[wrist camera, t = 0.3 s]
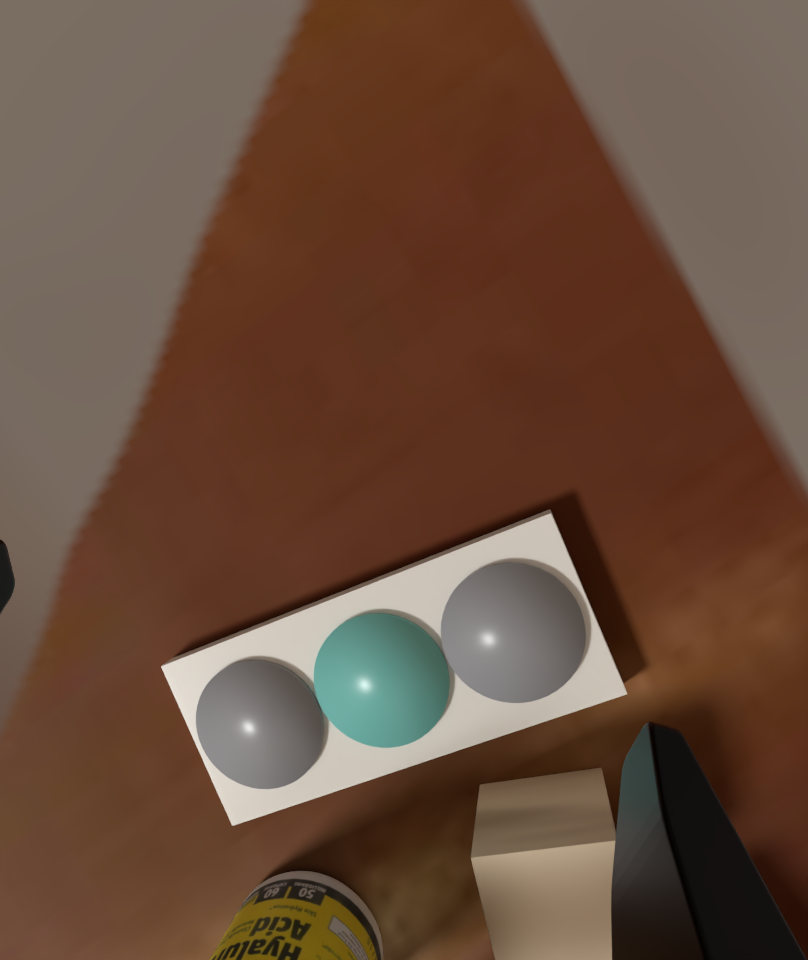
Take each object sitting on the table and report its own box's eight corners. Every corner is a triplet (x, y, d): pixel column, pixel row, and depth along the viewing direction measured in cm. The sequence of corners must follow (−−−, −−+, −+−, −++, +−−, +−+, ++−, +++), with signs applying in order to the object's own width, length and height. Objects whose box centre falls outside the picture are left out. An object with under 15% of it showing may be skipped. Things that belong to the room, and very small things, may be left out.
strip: (623, 683, 23) (628, 696, 22) (241, 813, 26) (229, 829, 25) (550, 509, 23) (551, 514, 22) (172, 657, 25) (157, 668, 24)
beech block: (627, 881, 24) (647, 978, 20) (506, 895, 24) (502, 990, 21) (601, 766, 23) (616, 840, 19) (479, 783, 24) (470, 857, 20)
